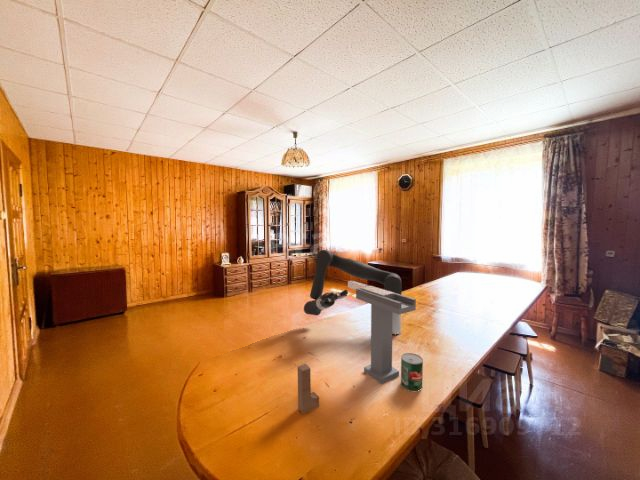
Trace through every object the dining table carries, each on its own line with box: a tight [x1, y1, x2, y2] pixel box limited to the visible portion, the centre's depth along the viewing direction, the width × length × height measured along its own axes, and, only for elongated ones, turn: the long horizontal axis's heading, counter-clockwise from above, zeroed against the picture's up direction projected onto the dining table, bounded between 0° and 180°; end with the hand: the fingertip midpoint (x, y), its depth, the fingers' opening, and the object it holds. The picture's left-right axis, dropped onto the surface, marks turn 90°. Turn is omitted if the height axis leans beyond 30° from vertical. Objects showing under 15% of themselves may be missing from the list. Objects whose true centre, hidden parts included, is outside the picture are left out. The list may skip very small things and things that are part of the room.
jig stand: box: [355, 286, 417, 385], centre depth 107 cm, size 24×10×34 cm, turn 31°
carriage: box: [347, 280, 395, 300], centre depth 114 cm, size 25×6×3 cm, turn 31°
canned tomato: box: [400, 352, 424, 392], centre depth 101 cm, size 8×8×11 cm
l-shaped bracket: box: [297, 363, 320, 415], centre depth 89 cm, size 7×3×15 cm, turn 123°
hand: (340, 292), depth 132 cm, fingers open, 8 cm apart
